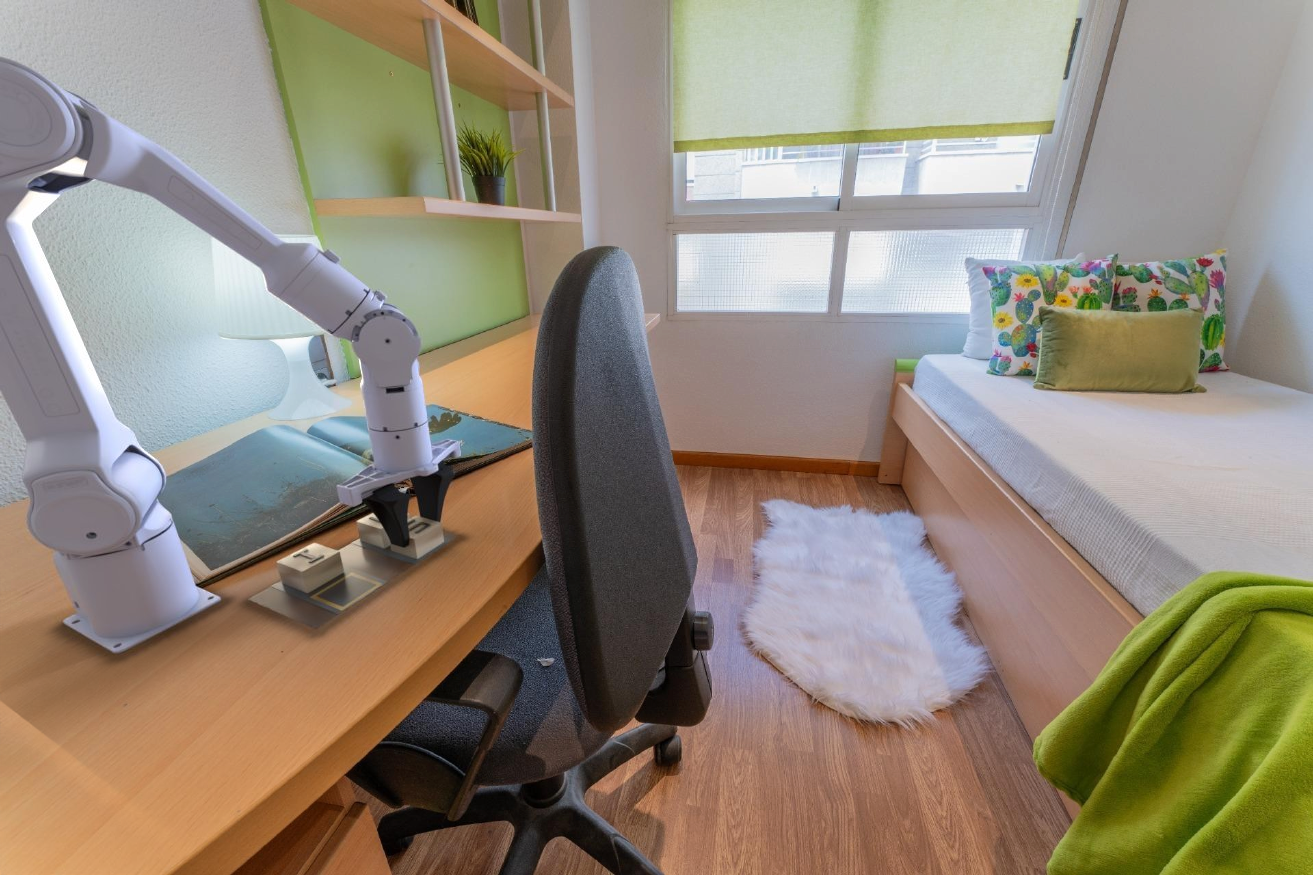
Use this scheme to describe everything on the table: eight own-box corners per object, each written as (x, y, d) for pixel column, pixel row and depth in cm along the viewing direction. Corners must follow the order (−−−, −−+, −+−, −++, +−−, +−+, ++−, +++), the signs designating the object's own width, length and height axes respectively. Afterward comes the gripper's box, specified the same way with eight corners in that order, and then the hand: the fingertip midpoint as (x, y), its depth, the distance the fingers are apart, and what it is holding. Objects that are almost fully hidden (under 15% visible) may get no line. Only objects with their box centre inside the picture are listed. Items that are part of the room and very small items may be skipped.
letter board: (248, 602, 51) (247, 598, 51) (399, 519, 66) (399, 516, 66) (316, 632, 47) (315, 628, 47) (460, 538, 63) (459, 534, 62)
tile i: (281, 583, 53) (275, 560, 52) (319, 562, 57) (313, 541, 56) (307, 593, 52) (301, 570, 51) (344, 572, 55) (339, 550, 54)
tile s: (391, 550, 59) (387, 529, 58) (419, 534, 62) (415, 514, 62) (417, 559, 58) (413, 538, 57) (444, 541, 61) (441, 521, 60)
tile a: (360, 540, 61) (355, 520, 60) (388, 525, 64) (385, 505, 63) (384, 548, 59) (380, 528, 58) (412, 532, 63) (409, 512, 62)
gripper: (364, 452, 47) (387, 578, 52) (476, 409, 59) (486, 514, 64) (311, 439, 50) (339, 560, 54) (429, 401, 62) (443, 502, 67)
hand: (416, 534), depth 59 cm, fingers closed on tile s, 4 cm apart
